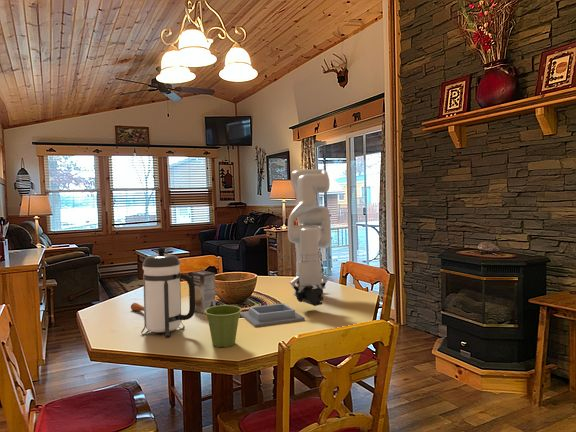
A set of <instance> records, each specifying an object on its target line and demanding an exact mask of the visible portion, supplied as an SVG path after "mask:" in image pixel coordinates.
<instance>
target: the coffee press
mask: <svg viewBox="0 0 576 432" xmlns="http://www.w3.org/2000/svg"><path fill="white" fill-rule="evenodd" d="M157 252H158V254H152V255H149V256H146V257H145V259H144V260H143V262H142V270H143V275H142V277H143V307H144V311H143V314H144V319H143V320H144V323H143V324H144V326H143V328H142V330H141V331H140V332H141V336H146V335H147V334H148V333H149V332H151V333H164V337H165V338H170V337H171V331H175V330H176V329H180V330H185V327H186V326H185V325H184V324H183V322H182V321H186V320H189V319H191V318H193V317H194V315H195V312H196V311H195V286H194V282H193V280H192V278H191V275H189V274H187V273H181V270H180V268H181V267H180V266H181V260H180V258H179V257H178V256H177V255H175V254H171V253H165V252H166V249H165V248H164V247H161V246H160V247H159V248H158V249H157ZM181 280H185V282H187V285H188V297H189V299H188V300H189V302H188V303H189V308H188V309H189V311H188V313H187V314H182V299H181V298H182V296H181V295H182V294H181ZM181 325H182V326H183V327H180V326H181ZM145 329H146V332H145ZM143 332H145V333H143Z"/></svg>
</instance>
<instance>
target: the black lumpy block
mask: <svg viewBox="0 0 576 432" xmlns="http://www.w3.org/2000/svg"><path fill="white" fill-rule="evenodd" d="M312 288H314V287H313V286H305V287H303V289H302V291H301V292H302V302H301V303H305V304H309V305H312V306H314V307H317V306H321V305H323V301H324V296H322V297H319V298H318V295H320V294H322V295H323V294H324V289H323V290H322V289H320V288H316V289H312ZM295 294H296V295H295V298H297V291H296V292H295Z"/></svg>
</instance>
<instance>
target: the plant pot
mask: <svg viewBox="0 0 576 432" xmlns="http://www.w3.org/2000/svg"><path fill="white" fill-rule="evenodd" d="M242 311H243V309H242V307H240V306H238V305H231V304H230V305H229V304H226V305H225V304H221V305H215V306H213V307H210V308H207V309H206V310H205V314H206V319H207V321H208V327H209V331H210V337H211V338H210V339H211V343H212V344H211V345H212V346H214V347H216V348H222V347H224V348H229V347H232V346H234V345H235V343H236V341H237V340H236V339H237V332H238V325H239V320H240V316H241V315H240V312H242Z"/></svg>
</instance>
